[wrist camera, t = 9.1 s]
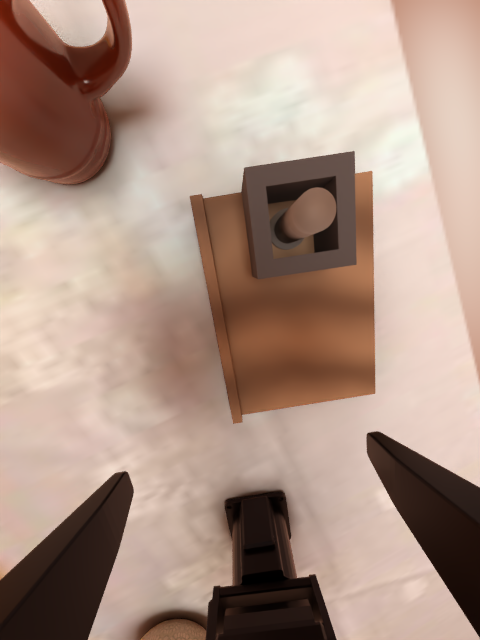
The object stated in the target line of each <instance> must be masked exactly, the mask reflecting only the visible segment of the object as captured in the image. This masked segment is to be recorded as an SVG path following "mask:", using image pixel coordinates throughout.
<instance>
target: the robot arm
mask: <svg viewBox="0 0 480 640" xmlns="http://www.w3.org/2000/svg"><path fill="white" fill-rule="evenodd" d="M367 454H368V457H369V459H370V461H371V463H372V464H373V466H374V468H375V470H376V472H377V474H378V476H379V478H380V479H381V481H382V483H383V485H384V487H385V489H386V491H387V493H388V494H389V496H390V498H391V500H392V502H393V504H394V505H395V507H396V509H397V510H398V512H399V513H400V515H401V516H402V518H403V520H404V521H405V523H406V524H407V526H408V527H409V529H410V530H411V532H412V533H413V535H414V537H415V538H416V540H417V541H418V543H419V544H420V546H421V547H422V549H423V551H424V552H425V554H426V555H427V557H428V558H429V560H430V561H431V563H432V564H433V566H434V568H435V569H436V571H437V572H438V574H439V575H440V577H441V578H442V580H443V581H444V583H445V585H446V586H447V588H448V589H449V591H450V592H451V594H452V595H453V597H454V598H455V600H456V602H457V603H458V605H459V606H460V608H461V609H462V611H463V612H464V614H465V616H466V617H467V619H468V620H469V622H470V623H471V625H472V626H473V628H474V629H475V631H476V633H477V634H478V636H479V637H480V487H478V486H476V485H474V484H472V483H471V482H469V481H467V480H465V479H463V478H462V477H460V476H458V475H456V474H454V473H453V472H451V471H449V470H447V469H445V468H444V467H442V466H440V465H438V464H436V463H435V462H433V461H431V460H429V459H427V458H426V457H424V456H422V455H420V454H419V453H417V452H415V451H413V450H411V449H410V448H408V447H406V446H404V445H402V444H401V443H399V442H397V441H395V440H393V439H392V438H390V437H388V436H386V435H384V434H383V433H381V432H377V431H376V432H370V433H368V434H367ZM133 493H134V490H133V485H132V483H131V480H130V477H129V474H128V472H126V471H124V472H118V473H115V474H114V475H112V476H111V477H110V478H109V479H108V480H107V481H106V482H105V483H104V484H103V485H102V486H101V487H100V488H99V489H97V490H96V491H95V492H94V493H93V494H92V495H91V496H90V497H89V498H88V499H87V500H86V501H85V502H84V503H82V504H81V505H80V506H79V507H78V508H77V509H76V510H75V511H74V512H73V513H72V514H71V515H70V516H69V517H67V518H66V519H65V520H64V521H63V522H62V523H61V524H60V525H59V526H58V527H57V528H56V529H55V530H54V531H53V532H51V533H50V534H49V535H48V536H47V537H46V538H45V539H44V540H43V541H42V542H41V543H40V544H39V545H38V546H36V547H35V548H34V549H33V550H32V551H31V552H30V553H29V554H28V555H27V556H26V557H25V558H24V559H23V560H21V561H20V562H19V563H18V564H17V565H16V566H15V567H14V568H13V569H12V570H11V571H10V572H9V573H8V574H6V575H5V576H4V577H3V578H2V579H1V580H0V640H88V637H89V634H90V631H91V628H92V625H93V623H94V620H95V617H96V614H97V611H98V608H99V605H100V602H101V600H102V597H103V594H104V591H105V588H106V585H107V582H108V579H109V576H110V574H111V571H112V568H113V565H114V562H115V559H116V556H117V553H118V550H119V547H120V543H121V540H122V536H123V532H124V529H125V525H126V521H127V517H128V513H129V510H130V506H131V502H132V498H133ZM225 511H226V515H227V520H228V524H229V529H230V533H231V537H232V542H233V586H227V587H220V586H214V588H213V597H212V600H211V601H210V602H209V604H208V619H207V630H206V637H205V640H336V637H335V633H334V630H333V627H332V624H331V621H330V618H329V615H328V612H327V609H326V606H325V603H324V600H323V596H322V593H321V590H320V587H319V584H318V581H317V578H316V575H315V574H313V575H309V577H302V578H297V574H296V569H295V565H294V560H293V555H292V550H291V545H290V541H289V540H290V539H291V532H290V525H289V517H288V510H287V503H286V497H285V493H283V492H275V493H269V494H262V495H256V496H250V497H243V498H237V499H231V500H227V501H226V502H225Z"/></svg>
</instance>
